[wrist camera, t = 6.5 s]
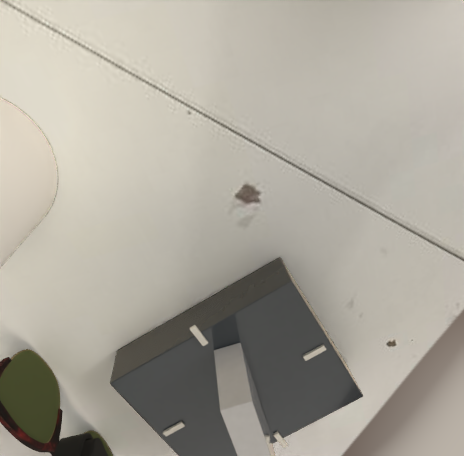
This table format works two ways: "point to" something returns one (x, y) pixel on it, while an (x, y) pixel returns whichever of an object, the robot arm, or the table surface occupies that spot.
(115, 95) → the table surface
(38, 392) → the sunglasses
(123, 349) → the plate
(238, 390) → the long grey beam
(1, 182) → the mug
